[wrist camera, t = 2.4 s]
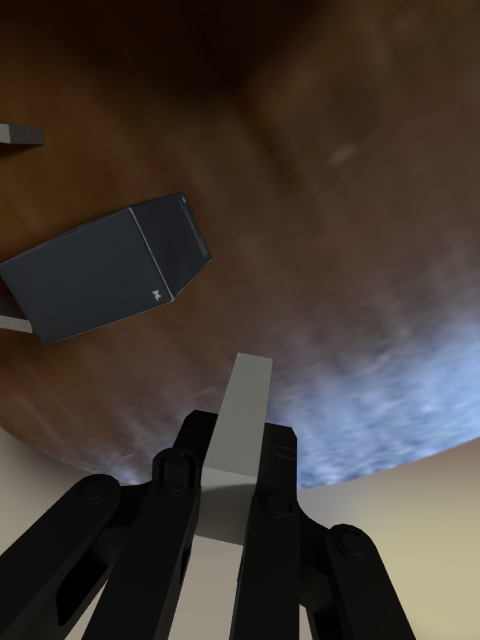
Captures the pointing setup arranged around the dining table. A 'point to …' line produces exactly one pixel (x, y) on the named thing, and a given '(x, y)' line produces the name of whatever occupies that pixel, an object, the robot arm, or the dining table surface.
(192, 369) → the dining table surface
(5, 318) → the grey u-shaped bracket
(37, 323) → the small box
